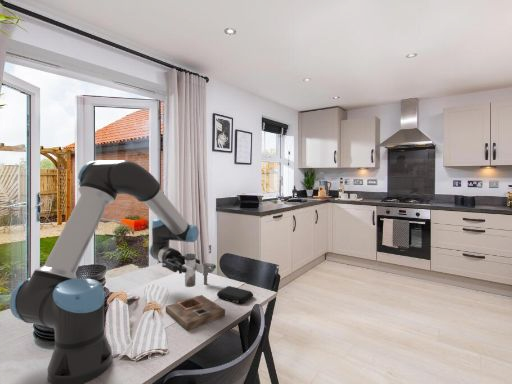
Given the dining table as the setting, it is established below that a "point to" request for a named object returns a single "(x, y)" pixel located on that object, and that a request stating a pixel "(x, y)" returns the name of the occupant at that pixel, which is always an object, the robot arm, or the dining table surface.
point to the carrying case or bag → (235, 294)
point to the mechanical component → (207, 270)
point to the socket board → (194, 312)
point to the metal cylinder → (190, 263)
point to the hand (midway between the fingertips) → (197, 271)
